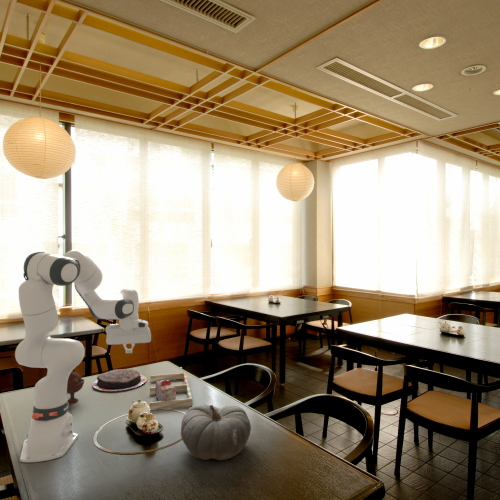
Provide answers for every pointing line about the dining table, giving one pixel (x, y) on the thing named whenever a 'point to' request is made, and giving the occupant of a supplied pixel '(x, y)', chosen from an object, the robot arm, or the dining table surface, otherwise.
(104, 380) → the chocolate cake
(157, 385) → the food item
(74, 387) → the ice cream bowl
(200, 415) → the gourd
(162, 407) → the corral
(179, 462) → the dining table surface
